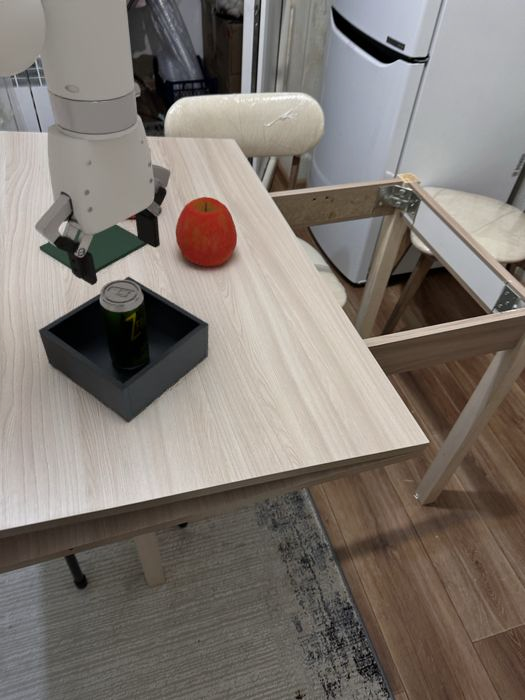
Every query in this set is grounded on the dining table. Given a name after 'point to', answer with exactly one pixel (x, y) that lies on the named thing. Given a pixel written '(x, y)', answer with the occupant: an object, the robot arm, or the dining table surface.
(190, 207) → the apple
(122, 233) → the mat
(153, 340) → the open box
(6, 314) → the dining table surface
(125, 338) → the green drink can
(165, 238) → the dining table surface
